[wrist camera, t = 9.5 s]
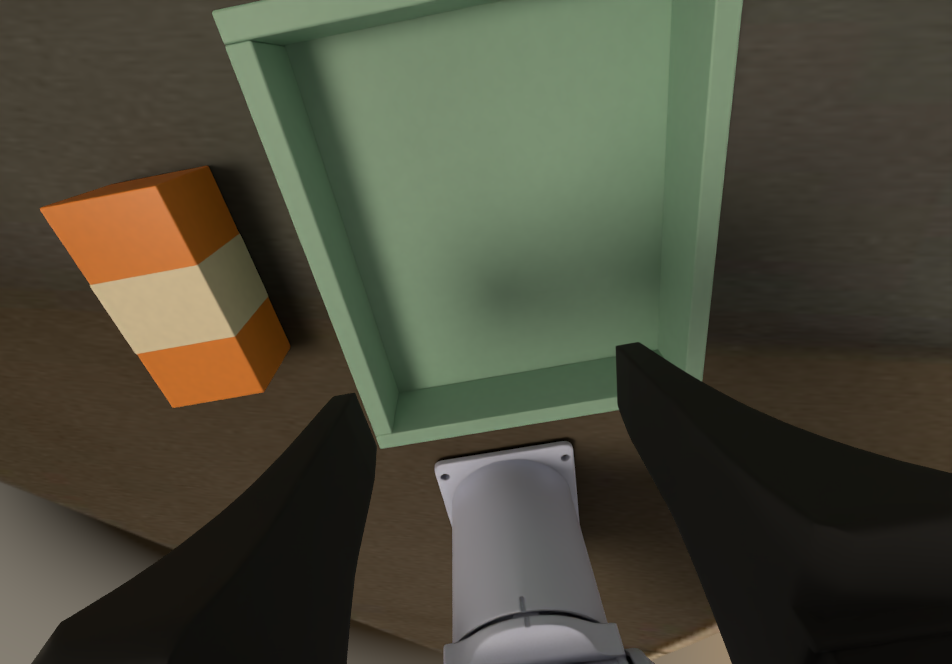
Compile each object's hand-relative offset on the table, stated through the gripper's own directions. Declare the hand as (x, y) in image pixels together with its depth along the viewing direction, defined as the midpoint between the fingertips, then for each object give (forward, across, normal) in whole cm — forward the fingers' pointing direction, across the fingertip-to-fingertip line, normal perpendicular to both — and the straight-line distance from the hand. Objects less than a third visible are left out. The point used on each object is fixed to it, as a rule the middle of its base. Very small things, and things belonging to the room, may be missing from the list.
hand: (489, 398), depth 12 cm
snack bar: (+9, +11, -2) cm, 15 cm away
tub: (+9, -2, -2) cm, 9 cm away
